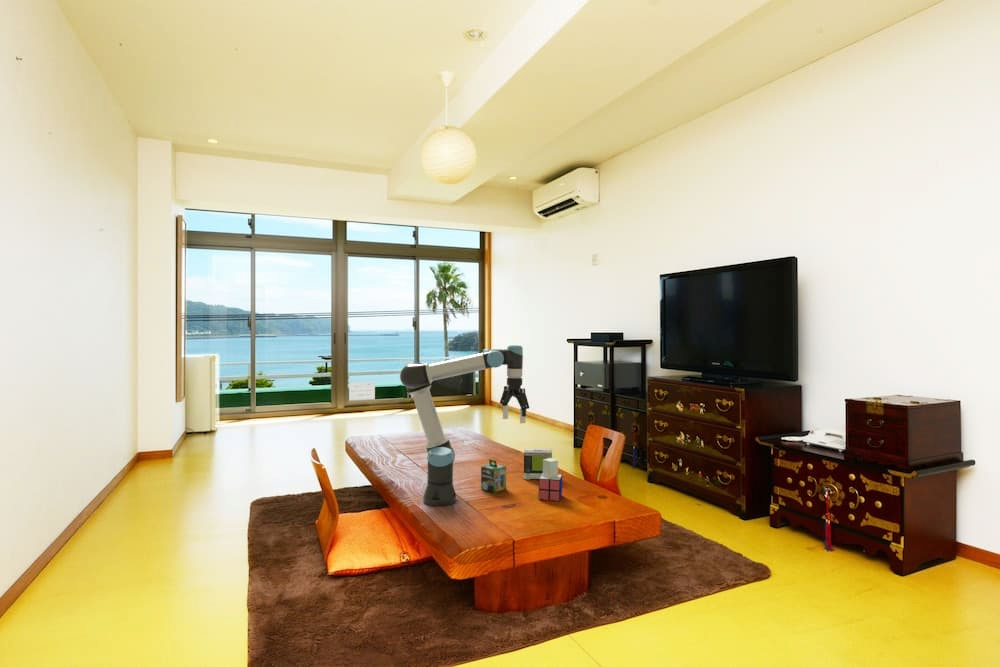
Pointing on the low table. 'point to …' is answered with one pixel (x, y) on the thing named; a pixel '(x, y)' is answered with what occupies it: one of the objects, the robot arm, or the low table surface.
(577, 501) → the low table surface
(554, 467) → the plain white block
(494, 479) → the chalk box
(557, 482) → the puzzle cube
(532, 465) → the tea box
